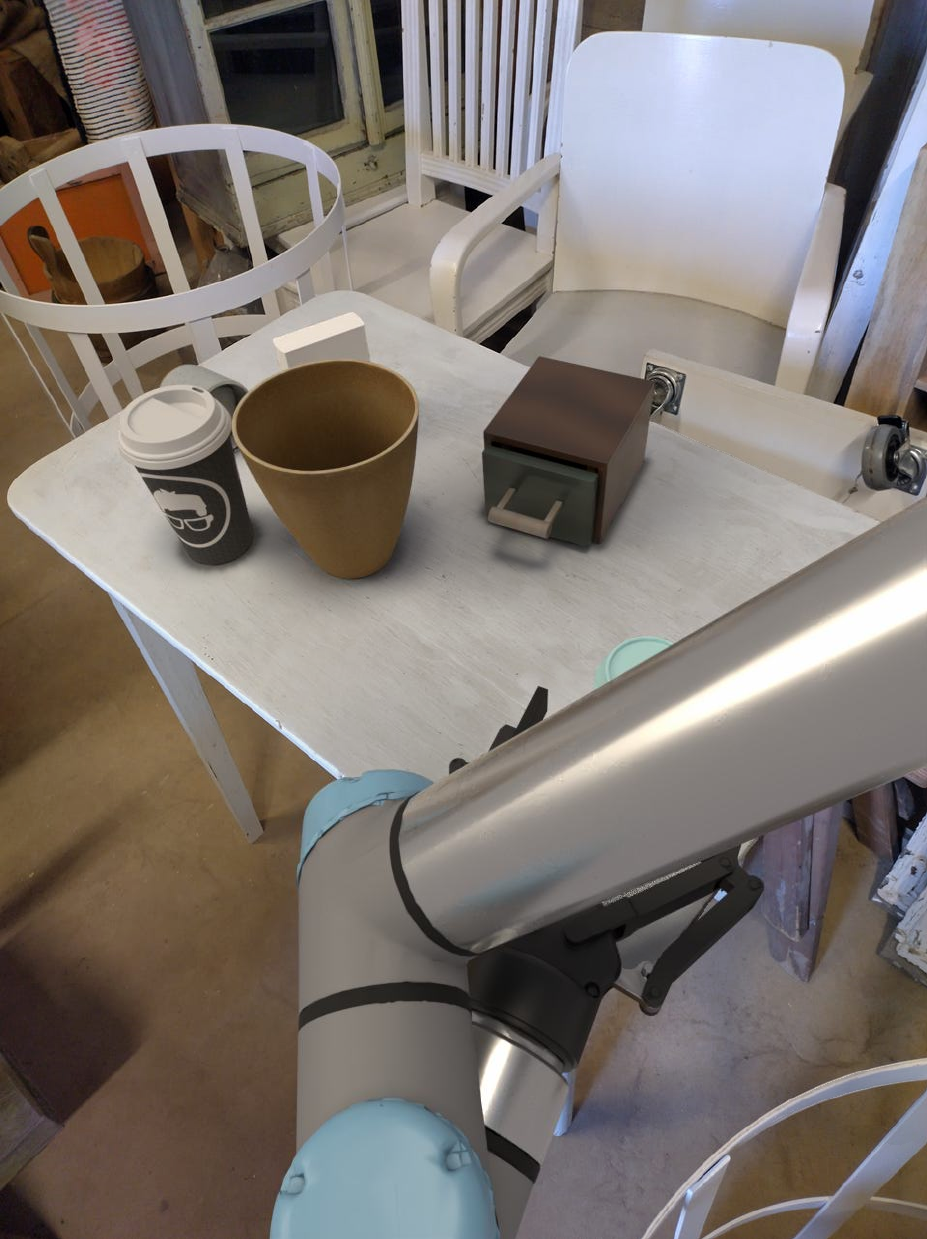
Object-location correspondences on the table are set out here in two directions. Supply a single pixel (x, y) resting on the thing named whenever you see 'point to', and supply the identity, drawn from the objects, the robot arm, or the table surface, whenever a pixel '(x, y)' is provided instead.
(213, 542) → the coffee cup
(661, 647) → the can
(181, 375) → the ceramic mug
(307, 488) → the plant pot
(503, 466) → the drawer
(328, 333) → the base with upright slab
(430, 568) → the table surface
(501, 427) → the cabinet
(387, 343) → the table surface
